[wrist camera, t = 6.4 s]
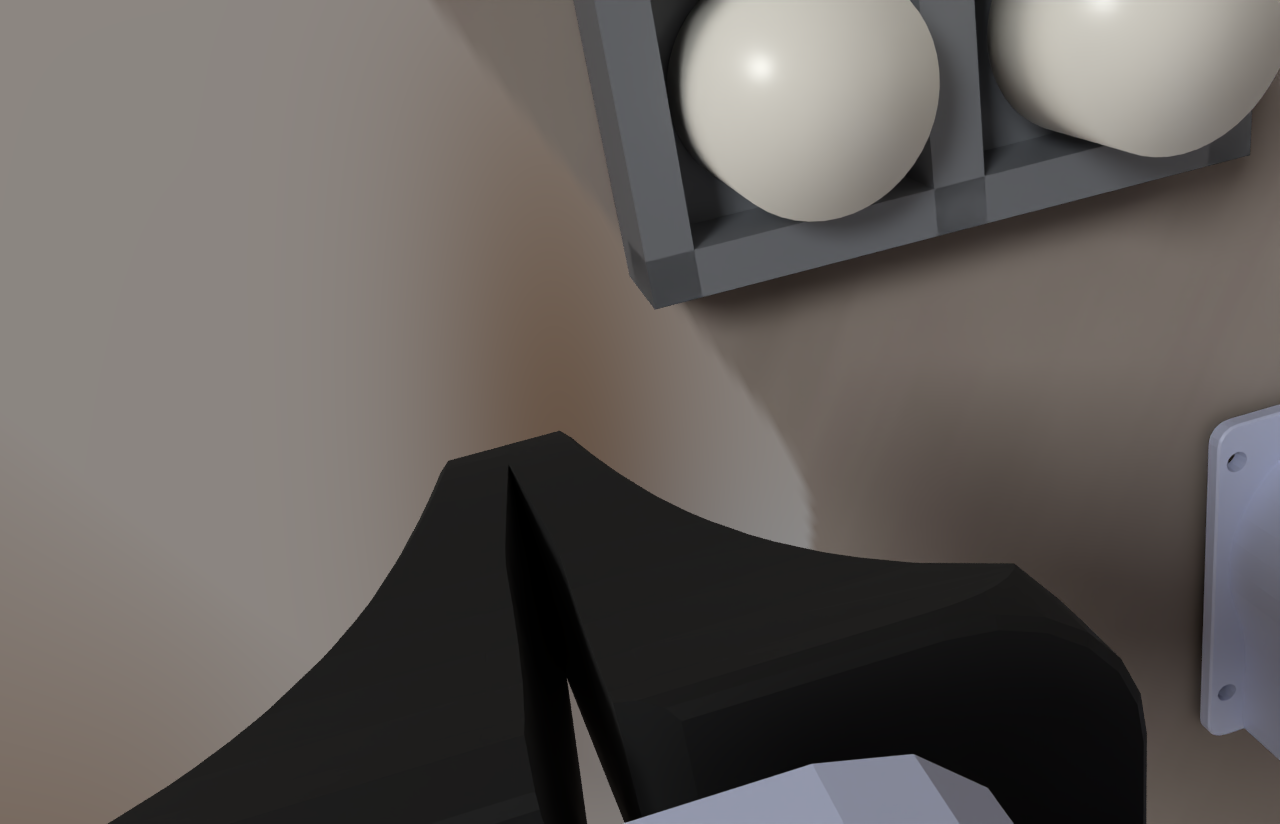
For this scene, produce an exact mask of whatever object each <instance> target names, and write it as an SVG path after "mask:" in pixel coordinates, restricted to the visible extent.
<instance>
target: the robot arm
mask: <svg viewBox="0 0 1280 824" xmlns="http://www.w3.org/2000/svg"><path fill="white" fill-rule="evenodd" d="M1233 454H1235V456H1234V458H1233V459H1232V460H1231V462H1229V463H1228V460H1229V458H1230V457H1231V456H1232V455H1233ZM1227 463H1228V464H1227ZM567 679H568V682H569V684H570V687H571V689H572V692H573V694H574V697H575V699H576V702H577V705H578V707H579V709H580V712H581V715H582V717H583V720H584V722H585V724H586V727H587V730H588V732H589V735H590V737H591V740H592V742H593V745H594V747H595V750H596V752H597V755H598V757H599V760H600V762H601V765H602V767H603V770H604V772H605V775H606V777H607V780H608V782H609V785H610V787H611V790H612V792H613V795H614V797H615V800H616V802H617V805H618V807H619V810H620V812H621V814H622V817H623V820H624V822H625V823H623V824H1146V772H1147V732H1146V726H1145V719H1144V713H1143V707H1142V700H1141V694H1140V692H1139V690H1138V688H1137V686H1136V685H1135V683H1134V681H1133V679H1132V678H1131V676H1130V674H1129V672H1128V671H1127V669H1126V667H1125V665H1124V663H1123V662H1122V660H1121V659H1120V658H1119V657H1118V656H1117V655H1116V654H1115V653H1114V652H1113V651H1112V650H1111V649H1110V648H1109V647H1108V646H1107V645H1106V644H1105V643H1104V642H1103V641H1102V640H1101V639H1100V638H1099V637H1098V636H1097V635H1096V634H1095V633H1094V632H1093V631H1092V630H1091V629H1090V628H1089V627H1088V626H1087V625H1086V624H1085V623H1084V622H1083V621H1082V620H1081V619H1079V618H1078V617H1077V616H1076V615H1075V614H1074V613H1073V612H1072V611H1071V610H1070V609H1069V608H1068V607H1067V606H1065V605H1064V604H1063V603H1062V602H1061V601H1060V600H1059V599H1058V598H1057V597H1055V596H1054V595H1053V594H1051V593H1050V592H1049V591H1048V590H1046V589H1045V588H1044V587H1043V586H1041V585H1040V584H1039V583H1038V582H1036V581H1035V580H1034V579H1033V578H1031V577H1030V576H1029V575H1028V574H1026V573H1025V572H1024V571H1023V570H1021V569H1020V568H1019V567H1018V566H1017V565H1015V564H988V563H910V562H899V561H888V560H878V559H868V558H858V557H851V556H844V555H838V554H831V553H825V552H819V551H815V550H810V549H806V548H800V547H796V546H791V545H787V544H782V543H778V542H773V541H770V540H767V539H763V538H759V537H756V536H752V535H748V534H746V533H743V532H740V531H737V530H734V529H732V528H729V527H725V526H723V525H720V524H717V523H714V522H711V521H709V520H706V519H704V518H701V517H699V516H697V515H694V514H692V513H689V512H687V511H685V510H683V509H681V508H679V507H677V506H675V505H673V504H671V503H669V502H667V501H665V500H663V499H661V498H659V497H657V496H655V495H653V494H651V493H650V492H648V491H647V490H645V489H643V488H642V487H640V486H638V485H637V484H635V483H634V482H632V481H630V480H629V479H627V478H625V477H624V476H622V475H621V474H619V473H617V472H616V471H615V470H613V469H612V468H610V467H609V466H607V465H606V464H605V463H603V462H602V461H600V460H599V459H598V458H596V457H595V456H594V455H592V454H591V453H590V452H588V451H587V450H586V449H585V448H583V447H582V446H581V445H580V444H578V443H577V442H576V441H575V440H574V439H572V438H571V437H569V436H568V435H566V434H564V433H563V432H561V431H557V432H553V433H550V434H546V435H542V436H539V437H535V438H531V439H528V440H524V441H520V442H516V443H513V444H509V445H505V446H502V447H498V448H494V449H491V450H487V451H483V452H479V453H476V454H472V455H469V456H465V457H461V458H457V459H454V460H450V461H448V462H447V464H446V465H445V467H444V469H443V470H442V472H441V473H440V476H439V478H438V481H437V483H436V485H435V487H434V490H433V492H432V494H431V497H430V499H429V501H428V503H427V505H426V507H425V509H424V511H423V513H422V516H421V518H420V520H419V522H418V523H417V525H416V527H415V529H414V531H413V533H412V535H411V536H410V538H409V540H408V542H407V544H406V546H405V548H404V550H403V551H402V553H401V555H400V556H399V558H398V560H397V562H396V564H395V565H394V566H393V568H392V569H391V571H390V573H389V574H388V576H387V577H386V579H385V580H384V582H383V583H382V585H381V586H380V588H379V590H378V591H377V593H376V594H375V596H374V597H373V599H372V600H371V601H370V603H369V604H368V606H367V607H366V608H365V610H364V611H363V612H362V613H361V614H360V616H359V617H358V618H357V620H356V621H355V622H354V623H353V624H352V626H351V627H350V628H349V629H348V630H347V631H346V632H345V634H344V635H343V636H342V637H341V638H340V639H339V641H338V642H337V643H336V644H335V645H334V646H333V647H332V649H331V650H330V651H329V652H328V653H327V654H326V655H325V656H324V657H323V658H322V659H321V661H319V662H318V663H317V664H316V665H315V666H314V667H313V668H312V669H311V670H310V671H309V672H308V673H307V674H306V675H305V676H304V677H303V678H302V679H300V680H299V681H298V682H297V683H296V684H295V685H294V686H293V687H292V688H291V689H290V690H289V691H288V692H287V693H286V694H285V695H284V696H283V697H281V698H280V699H279V700H278V701H277V702H276V703H275V704H274V705H273V706H272V707H271V708H270V709H269V710H268V711H266V712H265V713H264V714H263V715H262V716H261V717H259V718H258V719H257V720H256V721H255V722H253V723H252V724H251V725H250V726H248V727H247V728H246V729H245V730H243V731H242V732H241V733H240V734H238V735H237V736H236V737H235V738H234V739H232V740H231V741H230V742H229V743H227V744H226V745H224V746H223V747H222V748H220V749H219V750H218V751H217V752H215V753H214V754H212V755H211V756H210V757H208V758H207V759H206V760H204V761H203V762H202V763H200V764H199V765H198V766H196V767H195V768H193V769H192V770H191V771H189V772H188V773H186V774H185V775H183V776H182V777H180V778H179V779H178V780H176V781H175V782H173V783H172V784H170V785H169V786H167V787H166V788H164V789H163V790H161V791H160V792H158V793H156V794H155V795H153V796H152V797H150V798H148V799H147V800H145V801H144V802H142V803H140V804H139V805H137V806H135V807H134V808H132V809H131V810H129V811H127V812H126V813H124V814H123V815H121V816H120V817H118V818H116V819H115V820H113V821H111V822H110V823H108V824H587V820H586V813H585V805H584V799H583V791H582V784H581V776H580V769H579V762H578V755H577V747H576V740H575V733H574V726H573V718H572V711H571V704H570V698H569V690H568V683H567ZM1200 720H1201V724H1202V725H1203V726H1204V727H1205V728H1206V729H1207V730H1208V731H1209V732H1210V733H1211V734H1212V735H1216V736H1219V735H1225V734H1228V733H1231V732H1234V731H1237V730H1240V729H1243V728H1245V729H1246V730H1247V731H1248V732H1249V733H1250V734H1251V735H1252V736H1253V737H1254V738H1256V739H1257V740H1258V741H1259V742H1260V743H1261V744H1262V745H1263V746H1264V747H1265V748H1267V749H1268V750H1269V751H1270V752H1271V753H1272V754H1273V755H1274V756H1275V757H1276V758H1278V759H1279V760H1280V404H1279V405H1275V406H1272V407H1268V408H1265V409H1262V410H1258V411H1255V412H1251V413H1248V414H1244V415H1241V416H1237V417H1234V418H1231V419H1228V420H1226V421H1223V422H1221V423H1220V424H1219V425H1218V426H1217V427H1216V428H1215V429H1214V430H1213V432H1212V434H1211V436H1210V440H1209V452H1208V484H1207V516H1206V548H1205V580H1204V612H1203V644H1202V676H1201V708H1200Z"/></svg>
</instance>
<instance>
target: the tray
mask: <svg viewBox="0 0 1280 824" xmlns="http://www.w3.org/2000/svg"><path fill="white" fill-rule="evenodd" d="M573 1H574V5H575V10H576V15H577V20H578V25H579V30H580V35H581V40H582V45H583V50H584V54H585V59H586V64H587V69H588V74H589V79H590V84H591V89H592V94H593V99H594V104H595V108H596V113H597V118H598V123H599V128H600V133H601V138H602V143H603V148H604V153H605V157H606V162H607V167H608V172H609V177H610V182H611V187H612V192H613V197H614V202H615V207H616V211H617V216H618V221H619V226H620V231H621V236H622V241H623V246H624V251H625V256H626V260H627V265H628V270H629V275H630V277H631V279H632V280H633V281H634V282H635V284H636V285H637V286H638V288H639V289H640V290H641V292H642V293H643V294H644V296H645V297H646V298H647V300H648V301H649V302H650V304H651V305H652V306H653V308H654V309H659V308H663V307H666V306H670V305H674V304H678V303H682V302H686V301H690V300H693V299H697V298H701V297H705V296H709V295H713V294H717V293H720V292H724V291H728V290H732V289H736V288H740V287H744V286H747V285H751V284H755V283H759V282H763V281H767V280H771V279H774V278H778V277H782V276H786V275H790V274H794V273H798V272H801V271H805V270H809V269H813V268H817V267H821V266H825V265H828V264H832V263H836V262H840V261H844V260H848V259H851V258H855V257H859V256H863V255H867V254H871V253H875V252H878V251H882V250H886V249H890V248H894V247H898V246H902V245H905V244H909V243H913V242H917V241H921V240H925V239H929V238H932V237H936V236H940V235H944V234H948V233H952V232H956V231H959V230H963V229H967V228H971V227H975V226H979V225H983V224H986V223H990V222H994V221H998V220H1002V219H1006V218H1010V217H1013V216H1017V215H1021V214H1025V213H1029V212H1033V211H1036V210H1040V209H1044V208H1048V207H1052V206H1056V205H1060V204H1063V203H1067V202H1071V201H1075V200H1079V199H1083V198H1087V197H1090V196H1094V195H1098V194H1102V193H1106V192H1110V191H1114V190H1117V189H1121V188H1125V187H1129V186H1133V185H1137V184H1141V183H1144V182H1148V181H1152V180H1156V179H1160V178H1164V177H1168V176H1171V175H1175V174H1179V173H1183V172H1187V171H1191V170H1195V169H1198V168H1202V167H1206V166H1210V165H1214V164H1218V163H1221V162H1225V161H1229V160H1233V159H1237V158H1241V157H1245V156H1248V155H1250V145H1251V122H1252V110H1251V111H1250V112H1249V113H1248V114H1247V115H1246V116H1245V117H1244V118H1243V119H1242V120H1241V121H1240V122H1239V123H1238V124H1237V125H1236V126H1234V127H1233V128H1232V129H1231V130H1229V131H1228V132H1227V133H1226V134H1224V135H1223V136H1221V137H1219V138H1218V139H1216V140H1215V141H1213V142H1211V143H1209V144H1207V145H1205V146H1203V147H1201V148H1199V149H1197V150H1194V151H1191V152H1188V153H1185V154H1181V155H1175V156H1170V157H1148V156H1140V155H1136V154H1133V153H1129V152H1126V151H1122V150H1119V149H1115V148H1112V147H1108V146H1105V145H1101V144H1098V143H1094V142H1091V141H1087V140H1084V139H1080V138H1077V137H1073V136H1070V135H1066V134H1063V133H1059V132H1056V131H1052V130H1049V129H1045V128H1042V127H1040V126H1038V125H1036V124H1033V123H1031V122H1030V121H1028V120H1027V119H1025V118H1024V117H1022V116H1021V115H1020V114H1019V113H1018V112H1017V111H1016V110H1015V109H1014V108H1013V107H1012V106H1011V105H1010V104H1009V102H1008V101H1007V100H1006V99H1005V97H1004V96H1003V94H1002V92H1001V90H1000V89H999V87H998V85H997V83H996V80H995V78H994V75H993V72H992V68H991V64H990V60H989V54H988V45H987V26H988V18H989V11H990V6H991V2H992V0H910V1H911V2H912V4H913V5H914V6H915V8H916V9H917V10H918V11H919V13H920V14H921V16H922V18H923V20H924V21H925V23H926V25H927V27H928V29H929V32H930V34H931V36H932V39H933V42H934V46H935V49H936V53H937V58H938V65H939V76H940V90H939V100H938V107H937V111H936V116H935V120H934V123H933V126H932V129H931V132H930V135H929V137H928V140H927V142H926V144H925V146H924V148H923V150H922V152H921V154H920V155H919V157H918V158H917V160H916V162H915V163H914V165H913V166H912V167H911V169H910V170H909V171H908V173H907V174H906V175H905V176H904V178H903V179H902V180H901V181H900V182H899V183H898V184H897V185H896V186H895V187H894V188H893V189H892V190H891V191H889V192H888V193H887V194H886V195H884V196H883V197H882V198H881V199H879V200H878V201H876V202H874V203H873V204H871V205H870V206H868V207H866V208H864V209H862V210H860V211H858V212H856V213H853V214H850V215H847V216H844V217H841V218H837V219H832V220H827V221H813V222H807V221H796V220H791V219H787V218H783V217H779V216H777V215H774V214H772V213H769V212H767V211H765V210H763V209H762V208H760V207H758V206H756V205H755V204H753V203H752V202H750V201H749V200H748V199H746V198H745V197H743V196H742V195H740V194H739V193H738V192H736V191H735V190H733V189H732V188H730V187H729V186H728V185H726V184H725V183H723V182H722V181H720V180H719V179H718V178H716V177H715V176H713V175H712V174H711V173H709V172H708V171H707V170H705V169H704V168H703V167H702V166H701V165H700V164H699V163H698V162H697V161H696V160H695V159H694V158H693V157H692V156H691V155H690V153H689V152H688V150H687V149H686V148H685V146H684V145H683V143H682V141H681V139H680V137H679V136H678V134H677V131H676V129H675V126H674V124H673V121H672V117H671V113H670V109H669V104H668V95H667V74H668V66H669V60H670V56H671V52H672V48H673V45H674V42H675V40H676V37H677V35H678V32H679V30H680V28H681V26H682V25H683V23H684V21H685V19H686V17H687V16H688V15H689V13H690V12H691V10H692V9H693V8H694V6H695V5H696V4H697V3H698V2H699V0H573Z"/></svg>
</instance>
